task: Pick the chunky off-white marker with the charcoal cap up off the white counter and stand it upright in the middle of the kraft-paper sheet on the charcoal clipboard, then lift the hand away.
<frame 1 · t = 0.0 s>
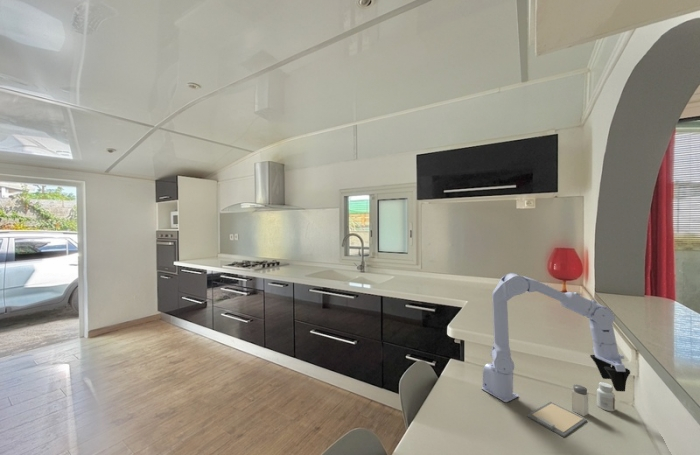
hand: (613, 384, 86), 11 cm above the counter, tool pointing down, fingers open, 7 cm apart
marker: (580, 412, 88), on the counter
pill bottle: (605, 408, 91), on the counter
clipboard: (556, 418, 85), on the counter
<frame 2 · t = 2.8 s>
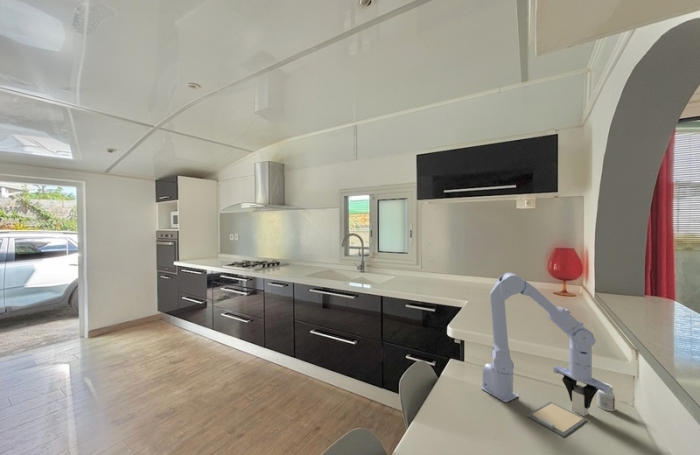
hand: (580, 403, 88), 3 cm above the counter, tool pointing down, fingers closed on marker, 3 cm apart
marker: (580, 412, 88), on the counter, touching gripper
everything else where it was.
when the fingers open (5 cm above the counter, at t = 7.4 s): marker drops 1 cm, resting on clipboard.
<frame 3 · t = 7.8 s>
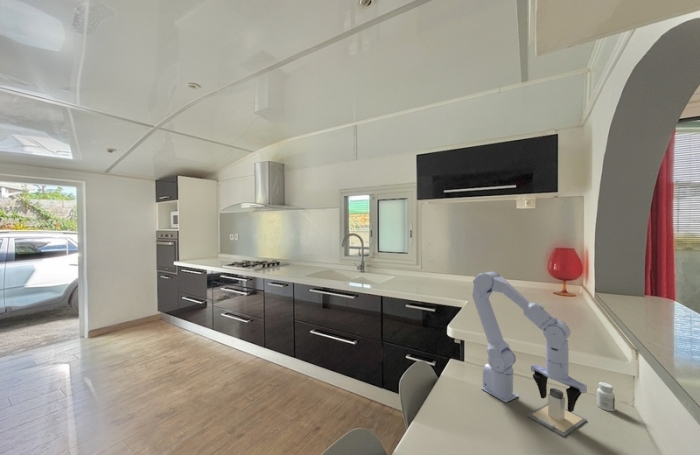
hand: (556, 403, 85), 5 cm above the counter, tool pointing down, fingers open, 7 cm apart
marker: (556, 416, 85), resting on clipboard
everything else where it was.
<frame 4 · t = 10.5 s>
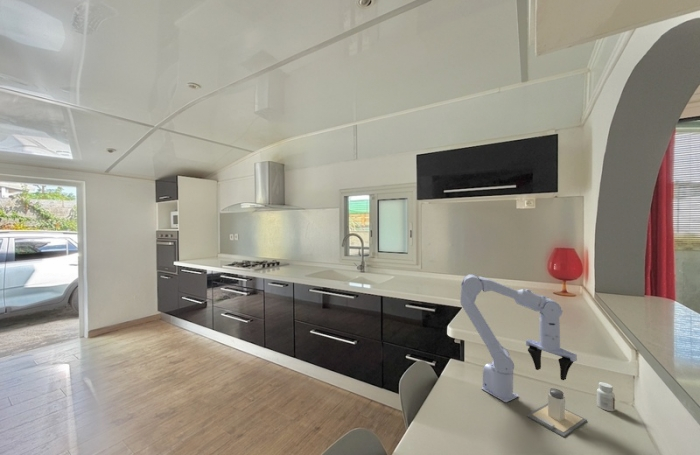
hand: (550, 374, 92), 10 cm above the counter, tool pointing down, fingers open, 7 cm apart
nothing on the counter moved.
at the end: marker inside the target area on the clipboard (0.2 cm from its centre), point 0.5 cm above the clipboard's base; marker tilted 0°; the gripper is holding nothing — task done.
